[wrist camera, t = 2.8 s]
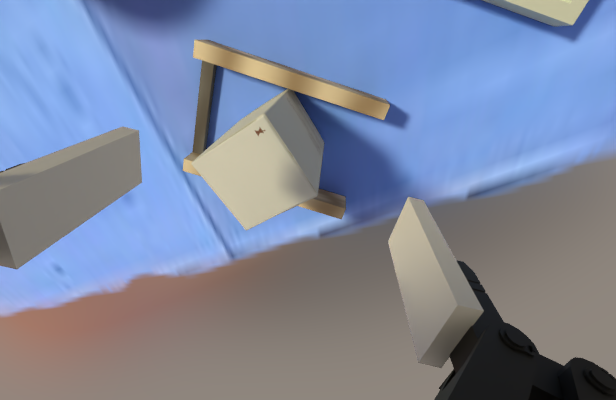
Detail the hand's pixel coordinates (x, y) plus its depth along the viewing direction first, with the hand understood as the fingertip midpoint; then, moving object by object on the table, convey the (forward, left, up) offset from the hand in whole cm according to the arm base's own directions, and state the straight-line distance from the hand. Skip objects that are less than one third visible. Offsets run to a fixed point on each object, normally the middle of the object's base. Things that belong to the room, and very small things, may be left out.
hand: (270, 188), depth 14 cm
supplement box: (-2, -4, -20) cm, 20 cm away
